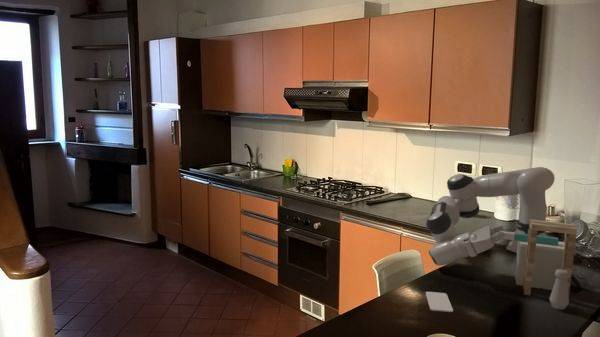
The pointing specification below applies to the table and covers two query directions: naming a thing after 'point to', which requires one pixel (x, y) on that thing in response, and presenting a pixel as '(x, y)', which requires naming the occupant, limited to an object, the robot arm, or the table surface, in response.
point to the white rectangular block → (540, 264)
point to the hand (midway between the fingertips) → (503, 230)
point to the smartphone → (439, 302)
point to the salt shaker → (560, 290)
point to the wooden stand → (531, 247)
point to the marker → (525, 238)
